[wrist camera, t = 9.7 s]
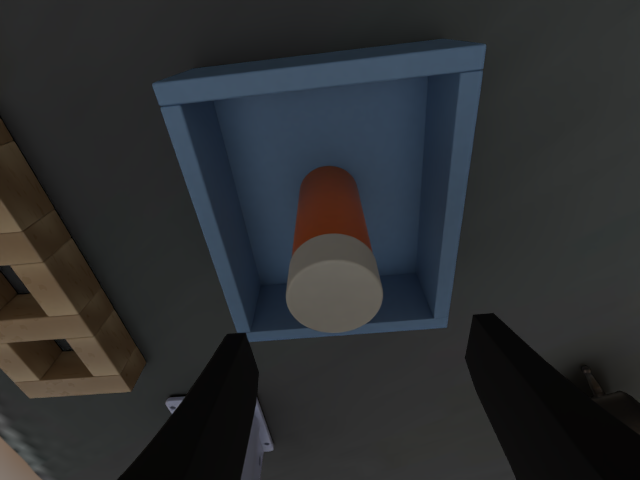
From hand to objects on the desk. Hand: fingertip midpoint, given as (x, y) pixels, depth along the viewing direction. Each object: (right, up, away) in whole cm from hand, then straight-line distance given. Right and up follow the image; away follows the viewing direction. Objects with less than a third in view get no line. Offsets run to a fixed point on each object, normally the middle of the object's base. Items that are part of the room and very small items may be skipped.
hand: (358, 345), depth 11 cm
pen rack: (-20, +2, +11) cm, 23 cm away
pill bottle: (-1, +6, +8) cm, 10 cm away
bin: (-1, +6, +8) cm, 10 cm away
